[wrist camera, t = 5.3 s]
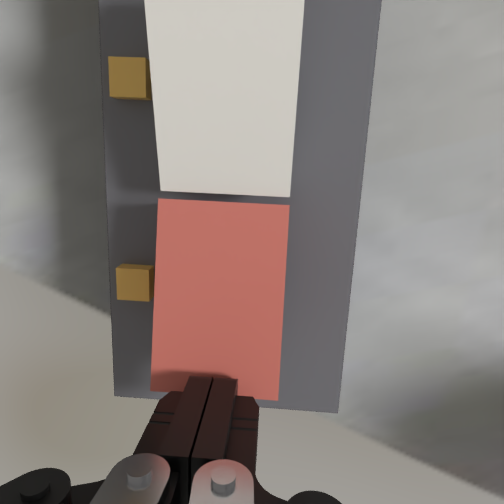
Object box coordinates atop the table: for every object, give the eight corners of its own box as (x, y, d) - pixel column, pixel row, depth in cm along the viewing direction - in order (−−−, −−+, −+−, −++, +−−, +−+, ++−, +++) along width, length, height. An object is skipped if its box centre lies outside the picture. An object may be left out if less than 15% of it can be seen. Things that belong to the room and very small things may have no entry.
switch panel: (134, -254, 15) (63, -456, 10) (385, -256, 14) (440, -469, 9) (145, 350, 20) (104, 410, 15) (326, 362, 20) (341, 429, 15)
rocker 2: (171, 202, 14) (158, 198, 12) (287, 208, 14) (289, 204, 12) (164, 373, 14) (150, 391, 13) (277, 381, 14) (277, 400, 12)
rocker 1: (158, -38, 11) (139, -48, 10) (305, -35, 11) (307, -45, 9) (173, 175, 14) (160, 191, 12) (289, 180, 14) (290, 197, 12)
